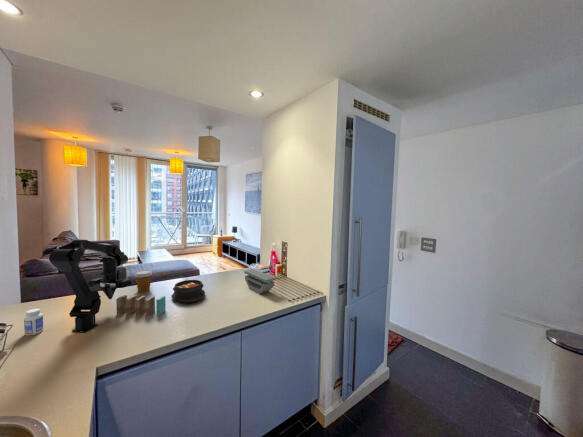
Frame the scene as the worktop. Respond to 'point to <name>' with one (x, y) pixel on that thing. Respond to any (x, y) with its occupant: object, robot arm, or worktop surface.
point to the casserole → (188, 291)
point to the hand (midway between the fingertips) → (110, 298)
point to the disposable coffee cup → (143, 280)
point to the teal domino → (160, 305)
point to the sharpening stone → (259, 281)
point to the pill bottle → (33, 322)
